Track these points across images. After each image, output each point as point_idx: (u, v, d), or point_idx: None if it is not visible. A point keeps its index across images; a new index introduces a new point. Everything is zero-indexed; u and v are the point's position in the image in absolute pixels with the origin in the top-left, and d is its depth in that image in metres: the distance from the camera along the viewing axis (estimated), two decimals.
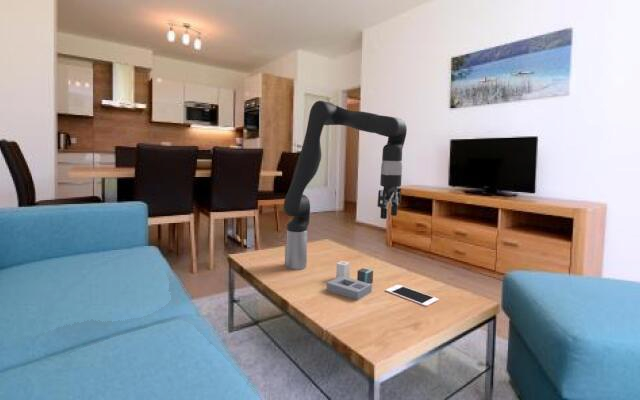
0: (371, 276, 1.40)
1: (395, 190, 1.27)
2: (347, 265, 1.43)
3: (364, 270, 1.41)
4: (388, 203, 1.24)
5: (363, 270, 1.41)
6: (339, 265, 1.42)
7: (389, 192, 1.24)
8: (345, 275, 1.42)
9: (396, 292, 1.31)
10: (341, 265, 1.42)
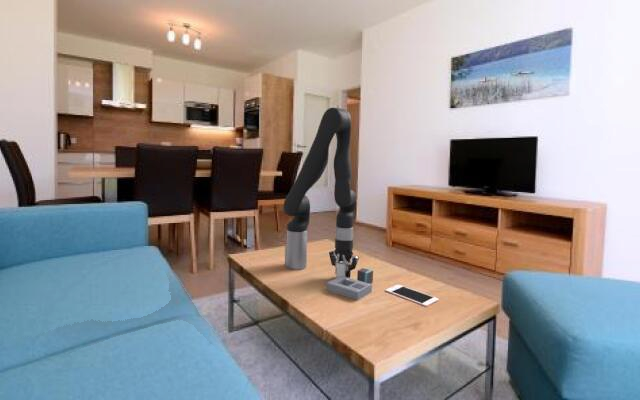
0: (371, 276, 1.40)
1: None
2: None
3: (364, 270, 1.41)
4: None
5: (363, 270, 1.41)
6: (339, 265, 1.42)
7: None
8: None
9: (396, 292, 1.31)
10: (341, 265, 1.42)
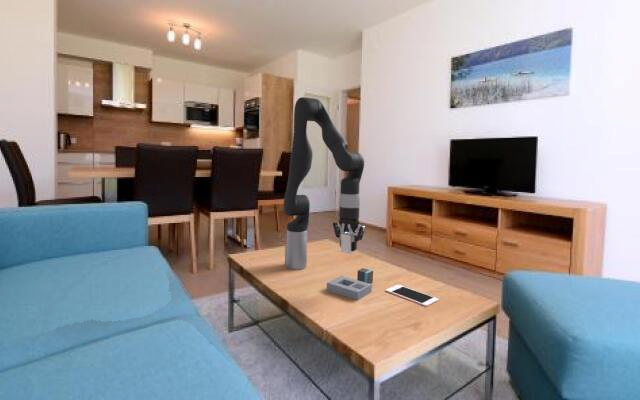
0: (371, 276, 1.40)
1: None
2: None
3: (364, 270, 1.41)
4: None
5: (363, 270, 1.41)
6: (344, 236, 1.30)
7: None
8: None
9: (396, 292, 1.30)
10: (346, 236, 1.29)
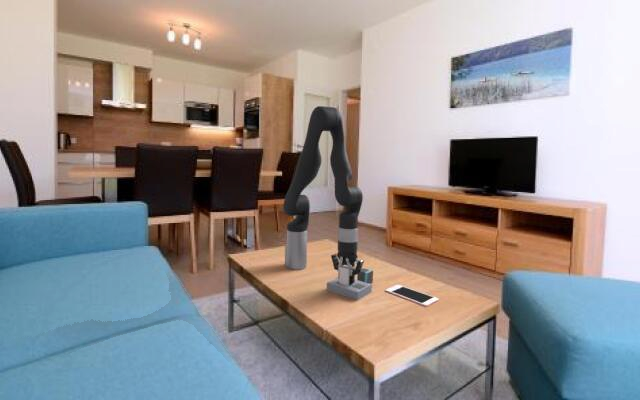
0: (371, 276, 1.40)
1: None
2: None
3: (364, 270, 1.41)
4: None
5: (363, 270, 1.41)
6: (342, 269, 1.30)
7: None
8: None
9: (396, 292, 1.30)
10: (344, 269, 1.30)
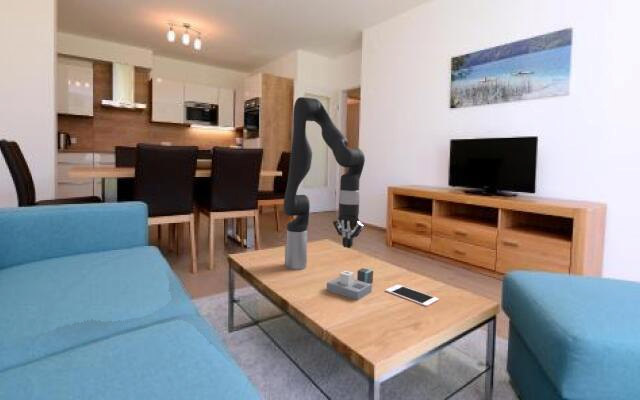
0: (371, 276, 1.40)
1: None
2: (351, 275, 1.31)
3: (364, 270, 1.41)
4: None
5: (363, 270, 1.41)
6: (343, 275, 1.30)
7: None
8: None
9: (396, 292, 1.30)
10: (345, 275, 1.30)
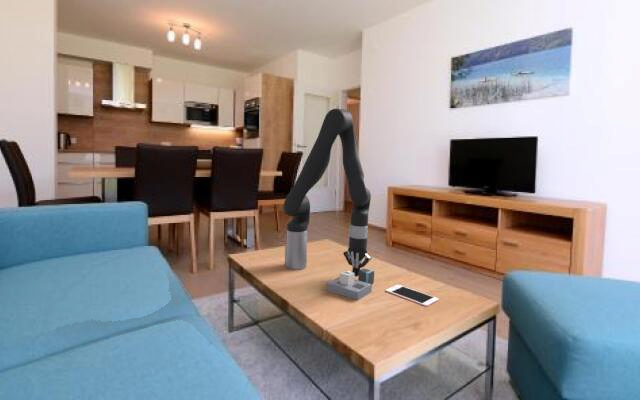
0: (372, 276, 1.40)
1: None
2: (351, 275, 1.31)
3: (365, 270, 1.41)
4: None
5: (364, 270, 1.41)
6: (343, 275, 1.30)
7: None
8: None
9: (396, 292, 1.30)
10: (345, 275, 1.30)
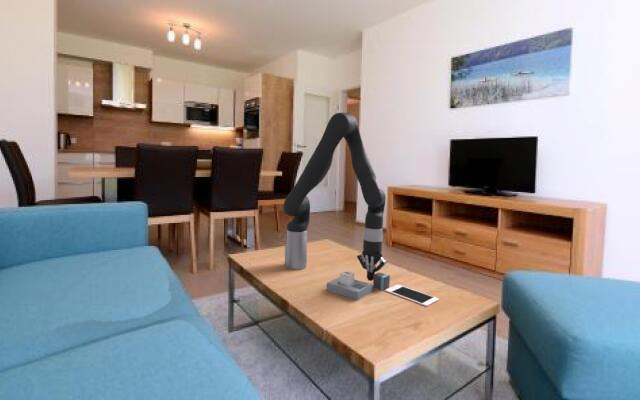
0: (387, 281, 1.35)
1: None
2: (351, 275, 1.31)
3: (380, 274, 1.36)
4: None
5: (379, 274, 1.36)
6: (343, 275, 1.31)
7: None
8: None
9: (396, 292, 1.30)
10: (345, 275, 1.30)
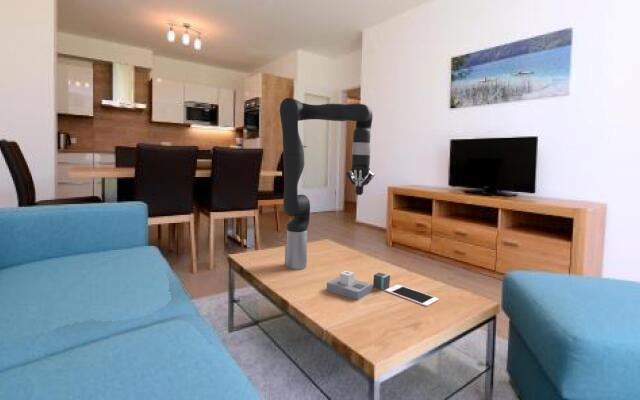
0: (388, 281, 1.35)
1: None
2: (351, 275, 1.31)
3: (380, 274, 1.36)
4: None
5: (379, 274, 1.36)
6: (343, 275, 1.31)
7: None
8: None
9: (396, 292, 1.30)
10: (345, 275, 1.30)
